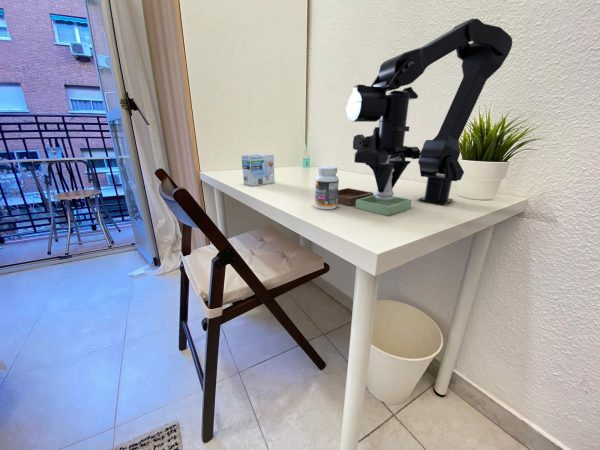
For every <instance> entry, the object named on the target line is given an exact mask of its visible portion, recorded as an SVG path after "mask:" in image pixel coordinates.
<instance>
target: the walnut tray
mask: <svg viewBox="0 0 600 450" xmlns="http://www.w3.org/2000/svg"><path fill="white" fill-rule="evenodd" d="M373 195H374V192H372V191H366V190H361V189H356V188H352V187H351V188H350V187H346V188H341V189H338V202H337V204H340V205H344V206H348V207H351V206H356V200H357V199H361V198H365V197H369V196H373Z"/></svg>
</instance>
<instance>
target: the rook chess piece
mask: <svg viewBox="0 0 600 450" xmlns="http://www.w3.org/2000/svg"><path fill="white" fill-rule="evenodd" d="M394 171H395V170H394V169H392V172H391V174H390V177H389V180H388V182H387V185H386V187H385V190H384V192H382V193H381V192H379V191H378V189H377V190H376V191H375V195H376V196H375V198H376V199H377V200H381V201H391V200H392V199H393V198H394V197H395V192H394V191H393V189H394V188H393V189H392V183H391V181H392V177H393V176H392V173H393V172H394ZM393 196H394V197H393Z"/></svg>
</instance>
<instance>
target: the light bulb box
mask: <svg viewBox="0 0 600 450" xmlns="http://www.w3.org/2000/svg"><path fill="white" fill-rule="evenodd" d="M240 157H241V167H242V168H241V169H242V181H243V184H244V185H246V186H247V185H248V186H251V187H255V186H262V185H269V184H275V182H276V181H275V180H276V179H275V155H274V154H269V153H257V154H256V153H254V154H241V156H240Z"/></svg>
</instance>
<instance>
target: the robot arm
mask: <svg viewBox="0 0 600 450" xmlns="http://www.w3.org/2000/svg"><path fill="white" fill-rule="evenodd" d="M512 48H513V37H512V35H510V34H509V33H508V32H506V31H505V30H504V28H502V27H500V26H496V25H492V24H487V23H484V22H482V21H481V20H480V19H479V18H470V19H468V20H466V21H463V22H461V23H459V24H457V25H455V26H454V27H452V29H450V30H449V31H447V32H445V33H443V34H442V35H439V36H438V37H437V38H435V39H433V40H431V41H429V42H428V43H426V44H424V45H422V46H420V47H418V48H415V49H412V50H408V51H405V52H403V53H401V54H399V55H396V56H393V57H391V58H389V59H386V60H385V61H383V62H382V63H381V64H380V66H379V71H378V74H377V76H376V77H375V79H374V81H373V82H372V84H371V85H365V84H355V85H354V86H353V87H352V93H351V95H350V96H349V98H348V101H347V104H346V118H347V119H348V120H349V122H352V123H354V122H355V123H376V122H378V126H375V127H374V128H373V131H372V134H371V135H368V136H366V135H364V134H356V135H354V136H353V140H352V149H353V150H354V151H355V152H354V157H353V161H354V163H356V164H365V165H366V166H368V167H369V168H370V169H371V170H372V173H373V175H374V178H375V179H374V180H375V183H376V186H377V187H376V188H377V190H378V191H379V192H381V193H382V192H384V190H385V187H386V185H387V182H388V180H389V177H390V174H391V172H392V169H394V170H395V171H394V172H393V173H392V176H393V177H392V181H391V183H392V189H394V187H395V185H396V184H397V183H398V180H399V179H400V177H401V176H402V174H403V173H404V172H405V169H406V168H407V167H408V166H409V164H411V161H410V160H406V159H411V160H418V162H417V163H418V165H419V173H420V177H421V178H427V179H426V186H425V192H424V196H422V197H420V198H418V201H420V202H425V203H431V204H436V205H441V206H442V205H447V204H450V203H451V202H454V199H453V198H450V193H451V187H452V182H458V181H461V180H462V178H463V176H464V173H465V171H464V169H463V168H462V165H461V163H460V162H459V158H460V156H461V155H460V154H461V148H460V142H459V141H460V138H461V137H462V134H463V132H464V130H465V127H466V125H467V123H468V121H469V119H470V117H471V115H472V113H473V110H474V108H475V106H476V104H477V102H478V100H479V97H480V95H481V93H482V91H483V89H484V87H485V84H486V82H487V81H488V79H490V78H491V77H492V76H493V75H494V74H495V73H496V72H497V71H498V70H499V69H500V68H501V67H502V66H503V64H504V62H505V61H506V59H507V58H508V55H510V52H511V50H512ZM454 51H456V57H457V58H458V59H459V60H461V61H462V63H461V71H462V79H461V81H460V84H459V85H458V88H457V90H456V93H455V95H454V97H453V99H452V102H451V103H450V105H449V108H448V111H447V113H446V114H445V117H444V120H443V122H442V124H441V126H440V128H439V131H438V133H437V134H436V136H435V137H434V138H433V139H426V140H425V141H424V143H423V146H422V148H421V150H420V149H419V147H418V146H408V145H404V143H405V135H406V132H410V126H409V125H408V126H407V119H408V110H409V103H410V101H411V100H416V99H418V98H419V95H418V93H417V92H415V90H414V88H413V87H412V86H409V87H405V86H408V85H411V84H412V83H414V82H415V81H416V80H418V78H420V76H422V75H423V74H424V73H425V71H426V69H427V68H428V67H429V66H431V65H432V64H434V63H435V62H437V61H439V60H440V59H442V58H444V57H446V56H447V55H449V54H451V53H453V52H454ZM402 87H405V88H403V89H402V90H398V89H400V88H402ZM387 92H389V93H388V94H387Z"/></svg>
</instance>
